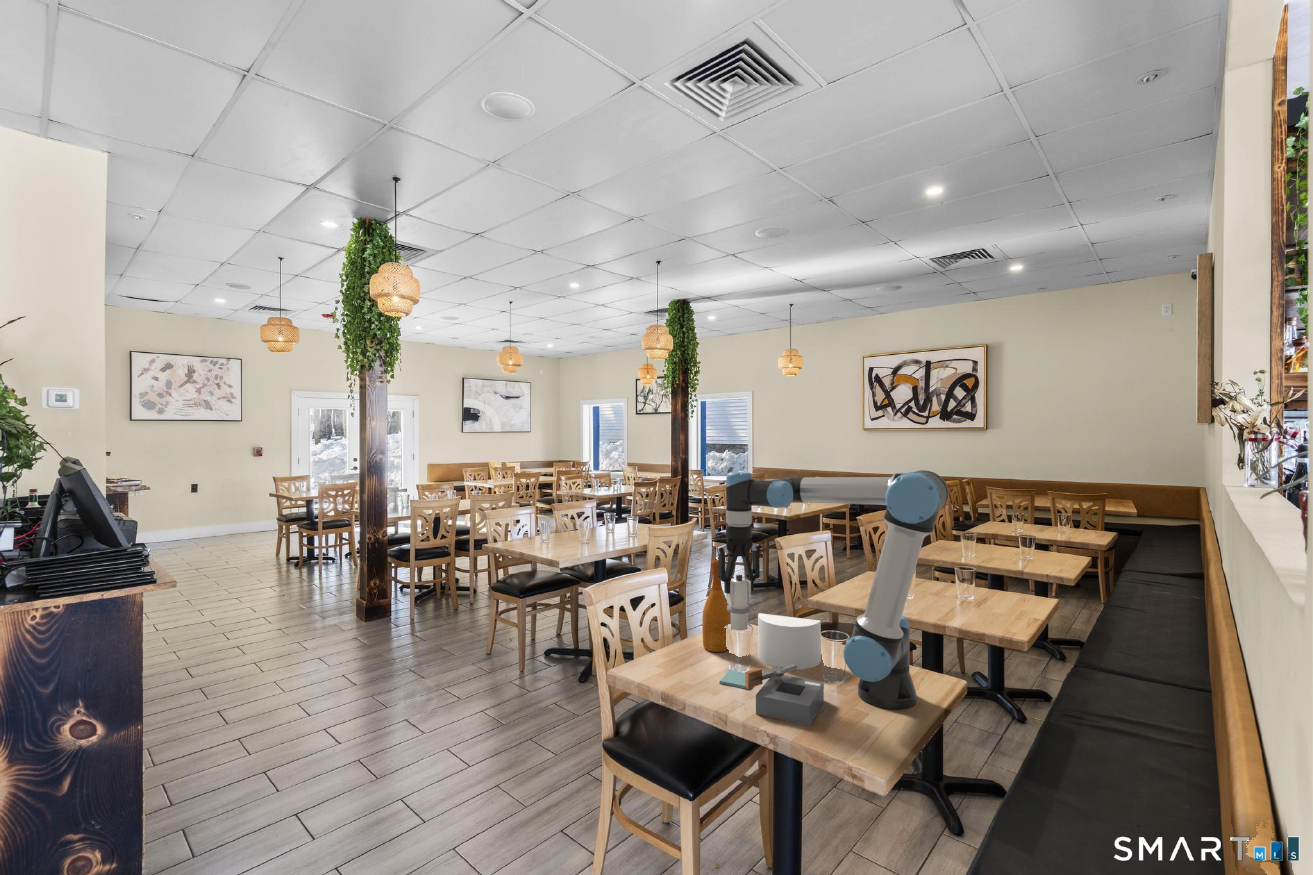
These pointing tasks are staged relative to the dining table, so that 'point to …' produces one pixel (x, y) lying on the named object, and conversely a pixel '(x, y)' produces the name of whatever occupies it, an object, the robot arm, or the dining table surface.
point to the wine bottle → (715, 615)
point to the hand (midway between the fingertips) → (739, 603)
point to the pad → (734, 679)
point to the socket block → (790, 699)
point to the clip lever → (765, 674)
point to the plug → (739, 604)
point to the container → (789, 641)
